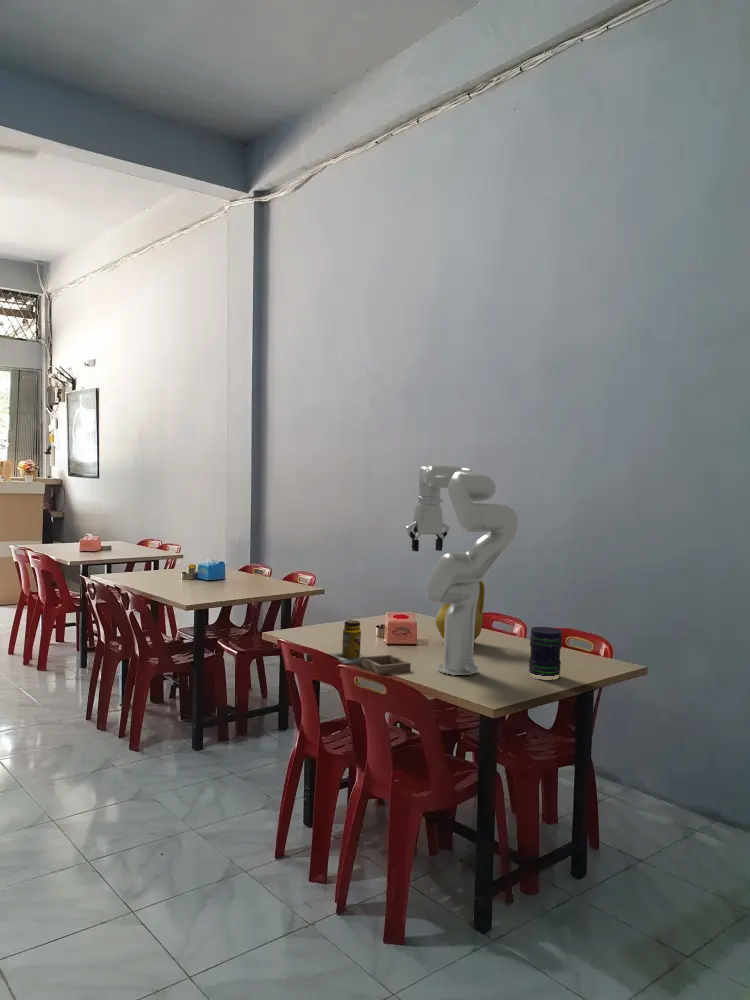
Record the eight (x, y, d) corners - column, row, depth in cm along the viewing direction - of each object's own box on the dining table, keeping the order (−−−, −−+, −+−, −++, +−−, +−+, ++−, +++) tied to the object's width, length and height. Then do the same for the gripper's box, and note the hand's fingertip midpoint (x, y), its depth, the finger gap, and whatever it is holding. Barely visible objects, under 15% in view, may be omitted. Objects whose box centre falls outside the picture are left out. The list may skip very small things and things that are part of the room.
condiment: (364, 658, 258) (366, 622, 258) (341, 660, 254) (343, 624, 253) (354, 653, 264) (356, 618, 264) (332, 655, 260) (333, 620, 260)
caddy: (410, 671, 246) (410, 663, 246) (379, 674, 241) (379, 666, 241) (390, 662, 257) (391, 654, 257) (360, 664, 251) (360, 657, 251)
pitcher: (432, 638, 297) (434, 573, 296) (480, 640, 297) (483, 575, 297) (437, 648, 279) (440, 580, 279) (488, 650, 280) (491, 581, 279)
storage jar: (556, 673, 251) (558, 627, 250) (563, 681, 241) (565, 633, 241) (525, 671, 251) (527, 626, 250) (531, 680, 241) (533, 632, 241)
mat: (372, 661, 256) (372, 660, 256) (345, 664, 251) (345, 662, 251) (354, 653, 268) (354, 651, 268) (328, 655, 263) (328, 653, 263)
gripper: (443, 501, 276) (441, 549, 276) (402, 500, 267) (400, 550, 268) (455, 502, 269) (453, 551, 270) (413, 501, 261) (411, 552, 261)
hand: (427, 550), depth 269 cm, fingers open, 9 cm apart
